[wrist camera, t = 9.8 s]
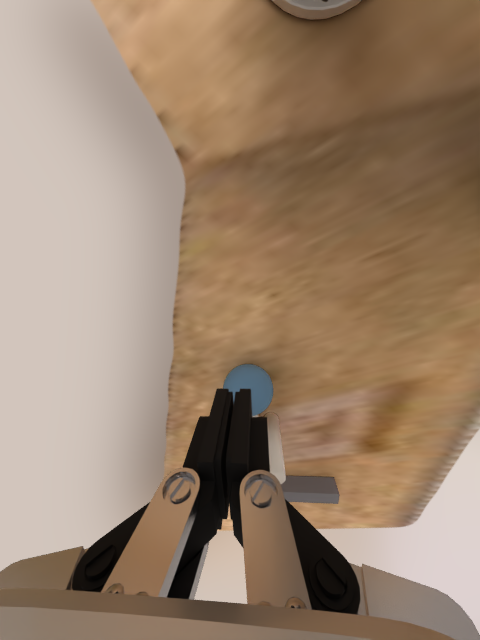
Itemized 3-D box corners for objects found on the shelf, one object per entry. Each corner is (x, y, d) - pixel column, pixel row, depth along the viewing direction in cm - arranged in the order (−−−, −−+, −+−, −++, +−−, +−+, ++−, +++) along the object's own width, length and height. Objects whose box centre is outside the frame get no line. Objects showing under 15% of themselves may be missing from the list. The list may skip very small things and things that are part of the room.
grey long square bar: (182, 472, 37) (176, 487, 35) (333, 477, 35) (339, 494, 33) (183, 481, 38) (178, 497, 35) (332, 486, 36) (338, 503, 33)
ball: (223, 421, 28) (229, 376, 32) (272, 425, 27) (272, 378, 31) (215, 403, 24) (223, 353, 27) (274, 407, 23) (274, 355, 27)
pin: (263, 412, 32) (264, 469, 24) (278, 412, 32) (285, 470, 24) (263, 425, 33) (265, 484, 25) (278, 425, 33) (285, 485, 25)
